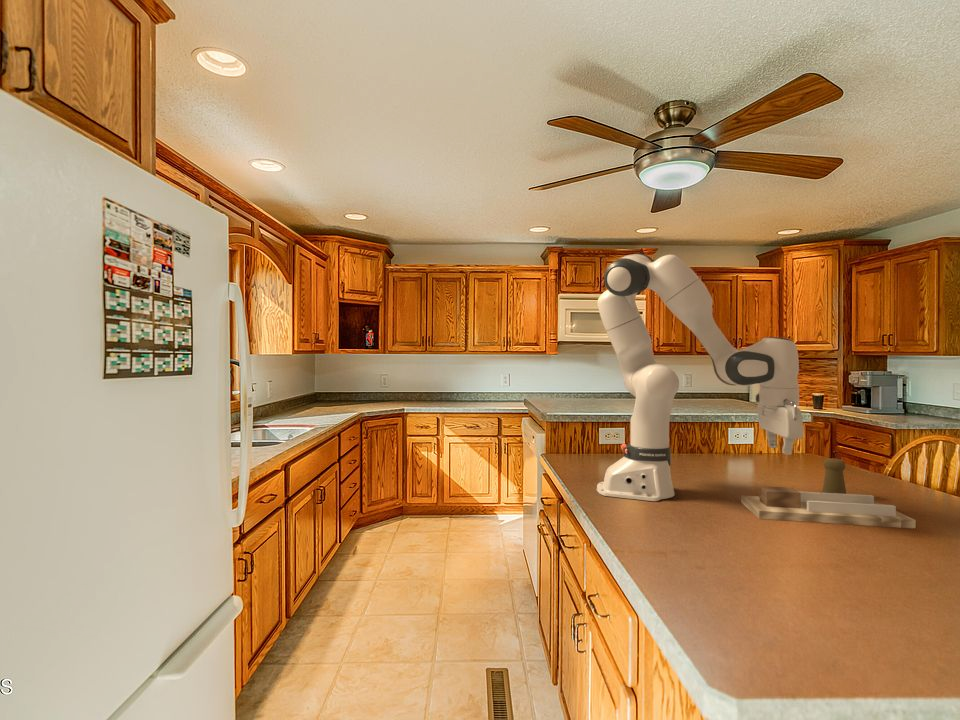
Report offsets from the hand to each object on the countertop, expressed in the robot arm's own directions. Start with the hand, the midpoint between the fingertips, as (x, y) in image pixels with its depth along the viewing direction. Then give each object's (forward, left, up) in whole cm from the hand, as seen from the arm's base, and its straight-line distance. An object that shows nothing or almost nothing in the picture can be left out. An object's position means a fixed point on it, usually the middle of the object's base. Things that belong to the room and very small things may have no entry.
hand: (779, 450), depth 128 cm
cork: (+22, +20, -16) cm, 34 cm away
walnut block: (0, 0, -14) cm, 14 cm away
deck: (+10, 0, -16) cm, 19 cm away
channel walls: (+14, 0, -14) cm, 20 cm away
